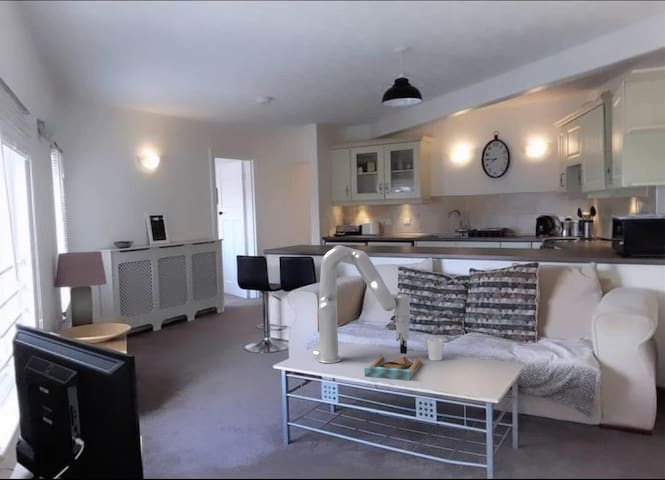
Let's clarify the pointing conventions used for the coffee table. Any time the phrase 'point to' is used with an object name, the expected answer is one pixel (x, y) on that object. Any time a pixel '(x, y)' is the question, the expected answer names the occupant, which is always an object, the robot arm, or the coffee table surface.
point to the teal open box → (390, 370)
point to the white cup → (435, 348)
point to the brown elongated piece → (398, 363)
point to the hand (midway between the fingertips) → (403, 353)
